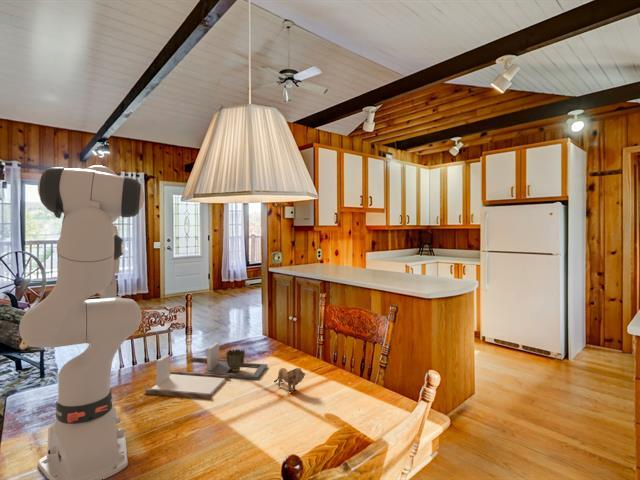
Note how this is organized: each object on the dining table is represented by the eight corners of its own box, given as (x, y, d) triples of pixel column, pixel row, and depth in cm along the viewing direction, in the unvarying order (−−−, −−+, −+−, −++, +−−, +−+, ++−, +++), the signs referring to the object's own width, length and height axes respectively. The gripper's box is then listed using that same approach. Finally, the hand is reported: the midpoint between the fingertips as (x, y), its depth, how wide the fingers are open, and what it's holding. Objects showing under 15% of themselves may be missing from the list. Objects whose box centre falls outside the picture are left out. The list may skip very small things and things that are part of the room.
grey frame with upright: (267, 366, 151) (267, 343, 151) (257, 379, 138) (258, 354, 137) (218, 363, 154) (218, 340, 154) (203, 375, 141) (204, 350, 140)
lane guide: (244, 364, 154) (244, 360, 154) (210, 399, 121) (210, 394, 121) (191, 360, 157) (191, 357, 157) (145, 393, 124) (145, 389, 124)
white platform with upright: (225, 380, 136) (225, 355, 136) (209, 396, 122) (209, 368, 122) (171, 376, 139) (171, 351, 138) (150, 391, 125) (150, 364, 125)
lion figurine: (307, 392, 128) (307, 367, 128) (296, 397, 124) (297, 371, 123) (278, 381, 137) (279, 357, 137) (268, 385, 133) (268, 361, 133)
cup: (242, 374, 142) (243, 354, 142) (224, 374, 142) (224, 354, 142) (246, 367, 150) (246, 348, 150) (228, 367, 150) (228, 348, 149)
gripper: (122, 270, 123) (121, 310, 123) (108, 266, 138) (108, 301, 138) (100, 271, 119) (100, 313, 119) (89, 266, 134) (89, 303, 134)
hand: (104, 306), depth 129 cm, fingers closed
